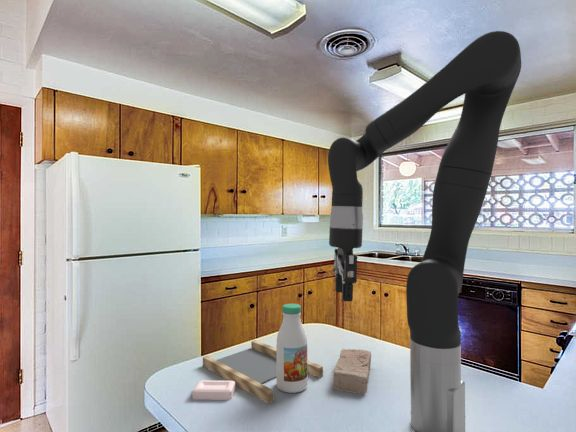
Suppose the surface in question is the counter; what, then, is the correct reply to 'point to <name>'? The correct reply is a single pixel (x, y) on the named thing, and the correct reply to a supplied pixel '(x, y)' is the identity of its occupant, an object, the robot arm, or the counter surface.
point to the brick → (352, 371)
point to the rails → (248, 383)
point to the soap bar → (214, 390)
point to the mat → (252, 365)
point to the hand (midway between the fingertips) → (343, 296)
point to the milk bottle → (291, 352)
